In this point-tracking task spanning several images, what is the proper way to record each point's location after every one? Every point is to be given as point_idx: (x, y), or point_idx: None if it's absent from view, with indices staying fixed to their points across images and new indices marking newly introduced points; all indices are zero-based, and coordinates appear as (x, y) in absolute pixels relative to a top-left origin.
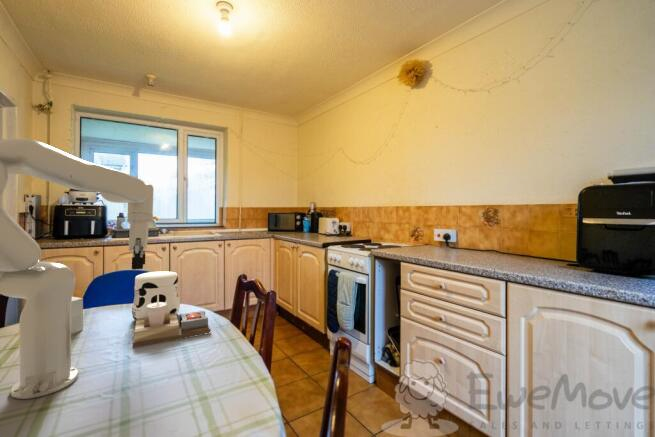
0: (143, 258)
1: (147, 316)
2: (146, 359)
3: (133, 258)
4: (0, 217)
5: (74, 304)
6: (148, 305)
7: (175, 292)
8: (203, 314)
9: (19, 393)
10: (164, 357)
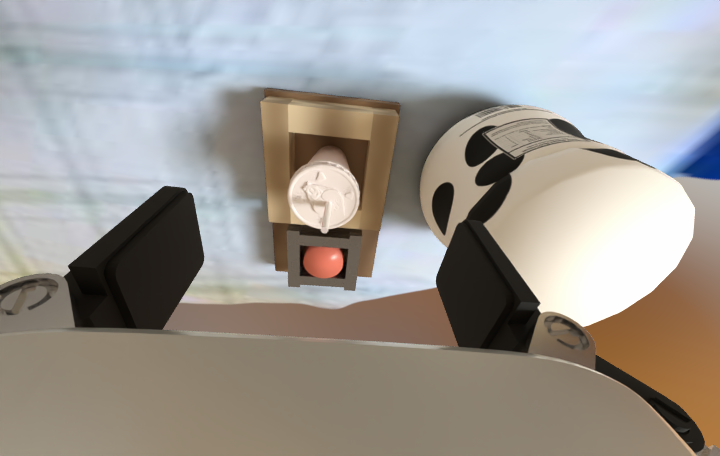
0: (452, 316)
1: (434, 151)
2: (173, 116)
3: (85, 271)
4: None
5: None
6: (332, 172)
7: None
8: (324, 283)
9: None
10: (172, 157)
